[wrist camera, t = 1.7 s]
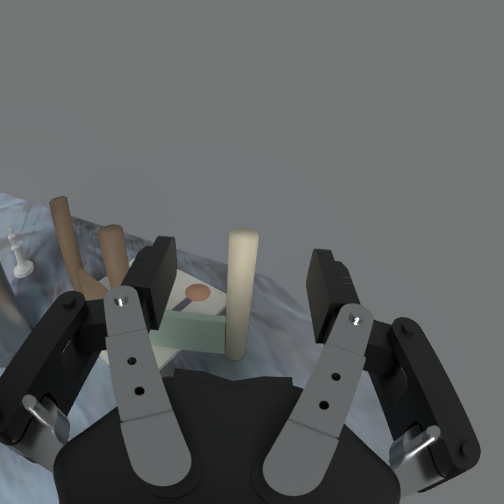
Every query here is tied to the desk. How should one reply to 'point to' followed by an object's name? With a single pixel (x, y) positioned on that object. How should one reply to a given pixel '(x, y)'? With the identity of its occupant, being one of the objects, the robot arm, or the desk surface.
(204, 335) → the l-shaped bracket
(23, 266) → the chess piece
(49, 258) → the desk surface
